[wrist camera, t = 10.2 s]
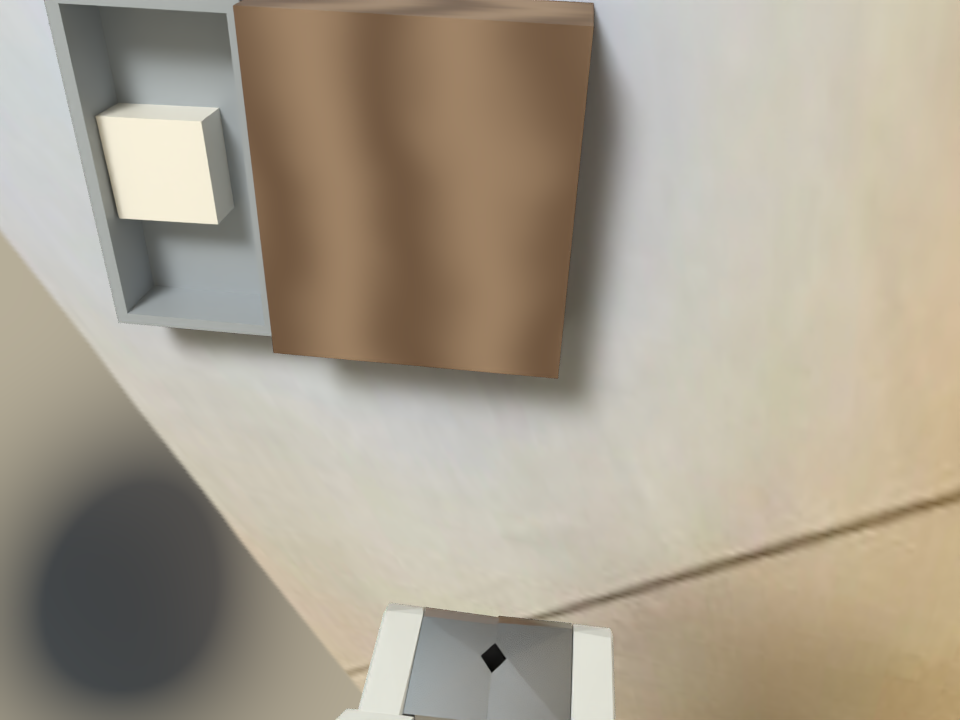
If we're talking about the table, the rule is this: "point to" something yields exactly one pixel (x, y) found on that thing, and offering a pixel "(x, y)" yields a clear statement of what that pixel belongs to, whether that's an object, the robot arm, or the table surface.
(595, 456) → the table surface
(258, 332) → the box
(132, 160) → the tile
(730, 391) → the table surface
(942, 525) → the table surface
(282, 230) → the walnut block
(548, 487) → the table surface
